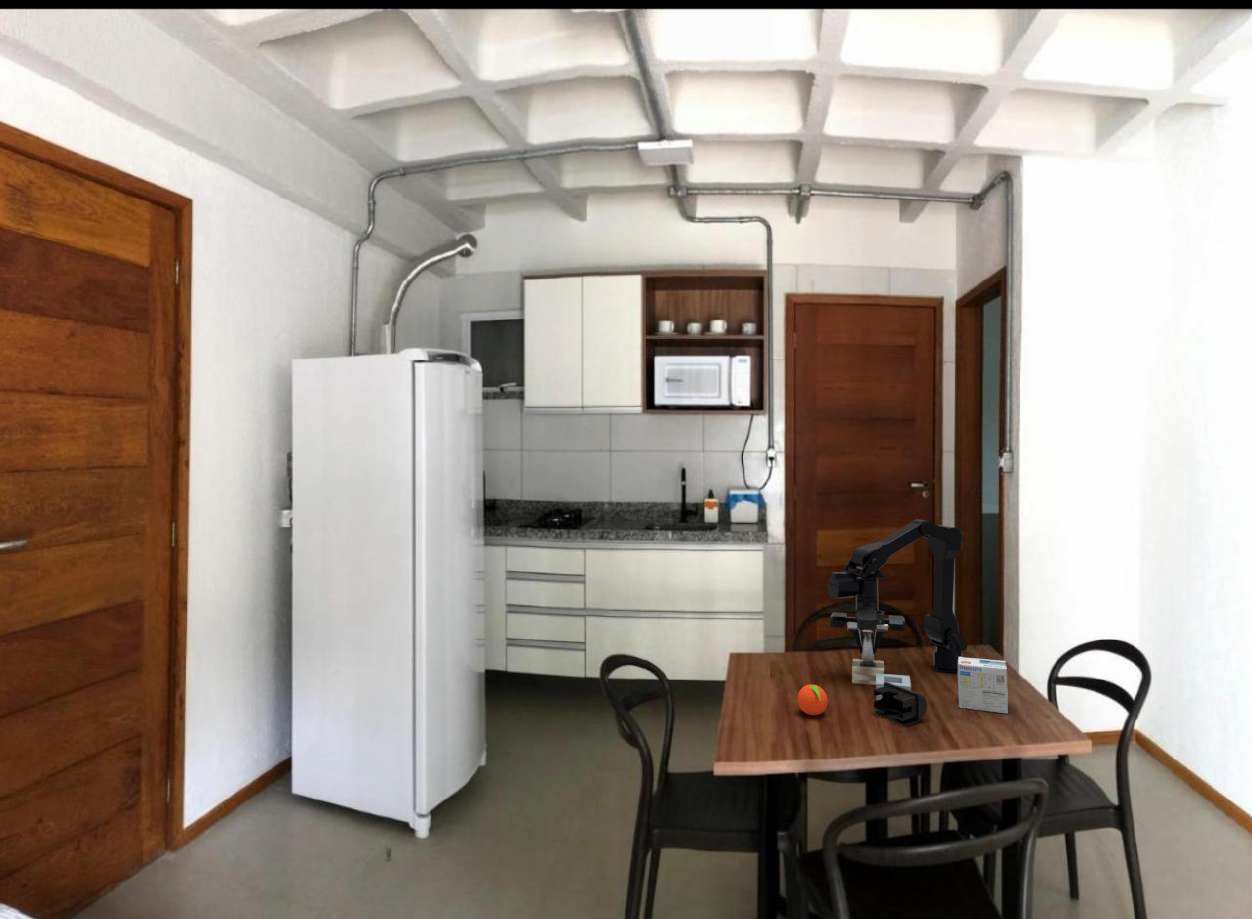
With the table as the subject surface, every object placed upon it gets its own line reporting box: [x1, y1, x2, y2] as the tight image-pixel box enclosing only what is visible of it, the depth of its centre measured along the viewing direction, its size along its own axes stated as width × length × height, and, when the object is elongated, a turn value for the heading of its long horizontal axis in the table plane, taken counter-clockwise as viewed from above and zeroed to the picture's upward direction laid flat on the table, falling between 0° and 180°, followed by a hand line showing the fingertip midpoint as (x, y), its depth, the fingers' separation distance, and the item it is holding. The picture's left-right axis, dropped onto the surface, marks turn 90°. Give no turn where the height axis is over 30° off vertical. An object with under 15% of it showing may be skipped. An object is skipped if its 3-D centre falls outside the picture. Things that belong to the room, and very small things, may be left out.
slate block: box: [875, 673, 912, 701], centre depth 181 cm, size 8×8×4 cm
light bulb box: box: [957, 656, 1009, 714], centre depth 173 cm, size 11×7×11 cm, turn 65°
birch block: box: [851, 658, 885, 686], centre depth 194 cm, size 8×8×4 cm
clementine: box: [797, 684, 829, 716], centre depth 170 cm, size 8×7×7 cm
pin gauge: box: [861, 629, 875, 667], centre depth 193 cm, size 3×3×10 cm
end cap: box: [872, 682, 928, 727], centre depth 168 cm, size 10×7×7 cm
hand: (867, 653), depth 194 cm, fingers closed on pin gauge, 3 cm apart
